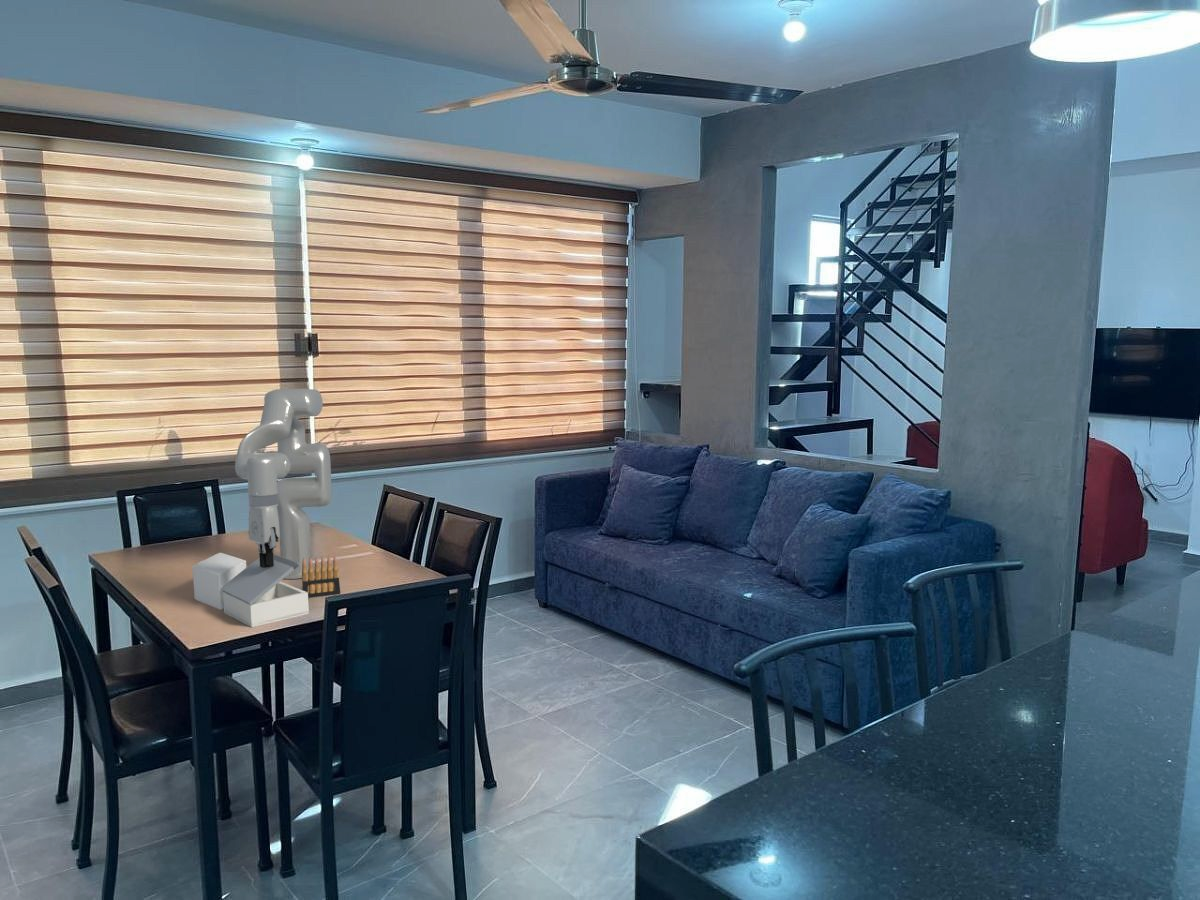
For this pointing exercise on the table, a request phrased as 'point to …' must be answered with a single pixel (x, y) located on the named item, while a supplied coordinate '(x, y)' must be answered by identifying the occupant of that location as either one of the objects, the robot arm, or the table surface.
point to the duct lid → (258, 579)
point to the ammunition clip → (320, 578)
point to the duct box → (269, 606)
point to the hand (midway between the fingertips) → (266, 566)
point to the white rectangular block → (215, 577)
